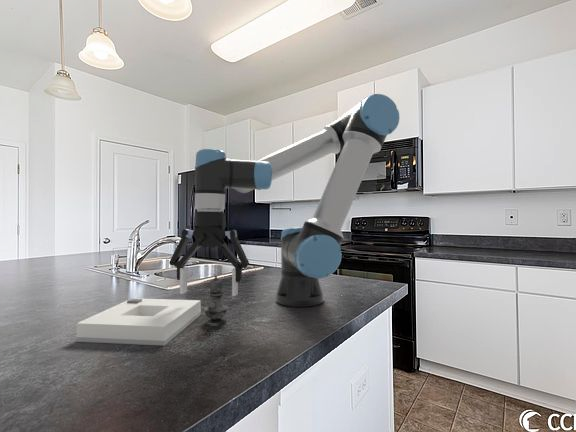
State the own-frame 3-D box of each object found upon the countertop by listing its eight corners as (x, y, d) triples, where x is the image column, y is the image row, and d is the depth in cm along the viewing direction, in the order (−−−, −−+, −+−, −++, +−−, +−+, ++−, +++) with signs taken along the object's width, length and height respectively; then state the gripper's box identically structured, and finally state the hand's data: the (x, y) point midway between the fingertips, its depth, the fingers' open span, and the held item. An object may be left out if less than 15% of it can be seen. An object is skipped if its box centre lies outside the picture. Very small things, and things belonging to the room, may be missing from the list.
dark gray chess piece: (222, 327, 76) (222, 278, 76) (199, 325, 78) (199, 277, 78) (231, 319, 82) (231, 273, 82) (210, 317, 83) (210, 272, 83)
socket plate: (200, 314, 85) (200, 298, 85) (164, 345, 66) (164, 323, 66) (131, 312, 88) (131, 296, 87) (76, 341, 68) (76, 320, 68)
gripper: (260, 211, 82) (259, 292, 82) (170, 210, 85) (169, 288, 85) (254, 211, 75) (253, 299, 75) (156, 210, 77) (154, 295, 77)
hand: (208, 293), depth 80 cm, fingers open, 13 cm apart
